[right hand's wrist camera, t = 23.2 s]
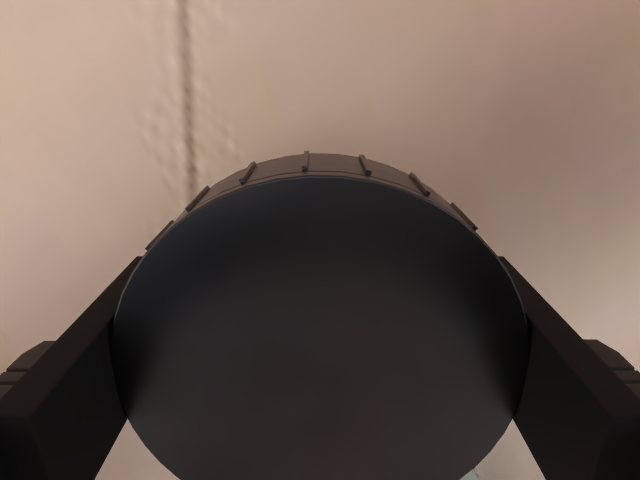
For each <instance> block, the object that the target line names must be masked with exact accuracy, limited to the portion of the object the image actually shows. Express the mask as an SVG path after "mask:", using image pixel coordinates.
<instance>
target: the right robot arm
mask: <svg viewBox="0 0 640 480" xmlns="http://www.w3.org/2000/svg"><path fill="white" fill-rule="evenodd" d="M142 257H143V256H137V257H136V258H135V259H134V260H133V261H132V262H131V263H130V264H129V265H128V266H127V267H126V269H125V270H124V271H123V272H122V273H121V274H120V275H119V276H118V277H117V278H116V279H115V280H114V281H113V282H112V283H111V284H110V285H109V286H108V287H107V288H106V289H105V290H104V291H103V292H102V294H101V295H100V296H99V297H98V298H97V299H96V300H95V301H94V302H93V303H92V304H91V305H90V306H89V307H88V308H87V309H86V310H85V311H84V312H83V313H82V314H81V315H80V316H79V318H78V319H77V320H76V321H75V322H74V323H73V324H72V325H71V326H70V327H69V328H68V329H67V330H66V331H65V332H64V333H63V334H62V335H61V336H60V337H59V338H58V339H57V340H56V341H44V342H42V343H40V344H38V345H37V346H35V347H33V348H32V349H30V350H28V351H27V352H25V353H23V354H22V355H21V356H20V357H19V358H18V359H17V360H16V361H15V362H14V363H12V364H11V365H10V366H9V367H8V368H7V371H6V372H3V373H2V374H1V375H0V480H94V479H95V477H96V475H97V474H98V472H99V470H100V468H101V466H102V464H103V463H104V461H105V459H106V457H107V455H108V453H109V452H110V450H111V448H112V446H113V444H114V442H115V441H116V439H117V437H118V435H119V433H120V431H121V430H122V428H123V426H124V424H125V422H126V420H127V419H128V417H127V415H126V413H125V411H124V409H123V407H122V404H121V401H120V399H119V396H118V392H117V388H116V383H115V378H114V373H113V367H112V362H111V337H112V330H113V323H114V316H115V313H116V310H117V307H118V304H119V300H120V297H121V294H122V292H123V290H124V288H125V286H126V284H127V282H128V280H129V278H130V276H131V274H132V272H133V270H134V269H135V267H136V266H137V264H138V263H139V262H140V260H141V259H142ZM498 258H499V259H500V261H501V262H502V263H503V265H504V266H505V267H506V268H507V269H508V271H509V275H510V276H511V278H512V280H513V283H514V285H515V287H516V289H517V292H518V294H519V296H520V299H521V301H522V305H523V309H524V313H525V317H526V320H527V325H528V336H529V347H530V350H529V363H528V369H527V374H526V379H525V384H524V389H523V394H522V397H521V400H520V402H519V405H518V407H517V410H516V412H515V415H514V416H513V420H514V422H515V424H516V425H517V427H518V429H519V431H520V433H521V435H522V436H523V438H524V440H525V442H526V444H527V446H528V447H529V449H530V451H531V453H532V455H533V457H534V458H535V460H536V462H537V464H538V466H539V468H540V469H541V471H542V473H543V475H544V477H545V479H546V480H640V373H639V372H638V371H635V370H634V367H633V366H632V365H631V364H630V363H629V362H628V361H627V360H626V359H625V358H624V357H623V356H622V355H621V354H620V353H618V352H617V351H615V350H613V349H612V348H610V347H608V346H606V345H605V344H603V343H601V342H600V341H598V340H583V339H582V338H581V337H580V336H579V335H578V334H577V333H576V332H575V331H574V330H573V329H572V328H571V327H570V326H569V324H568V323H567V322H566V321H565V320H564V319H563V318H562V317H561V316H560V315H559V314H558V313H557V312H556V311H555V310H554V309H553V308H552V307H551V306H550V305H549V304H548V303H547V302H546V301H545V299H544V298H543V297H542V296H541V295H540V294H539V293H538V292H537V291H536V290H535V289H534V288H533V287H532V286H531V285H530V284H529V283H528V282H527V281H526V280H525V279H524V278H523V277H522V275H521V274H520V273H519V272H518V271H517V270H516V269H515V268H514V267H513V266H512V265H511V264H510V263H509V262H508V261H507V260H506V259H505V258H504V257H503V256H498Z"/></svg>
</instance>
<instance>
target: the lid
mask: <svg viewBox="0 0 640 480" xmlns="http://www.w3.org/2000/svg"><path fill="white" fill-rule="evenodd" d="M477 229H478V228H477V227H476V226H475V225H474V224H473V223H472V222H471V220H470V219H469V218H468V217H467V216H466V215H465V214H464V213H463V212H462V211H461V210H460V209H459V208H458V207H457V206H456V205H455V204H454V203H451V204H449V203H448V202H447V201H446V200H444V199H443V198H442V197H441V196H440V195H438V194H437V193H436V192H435V191H434V190H433V189H431V188H430V187H428V186H427V185H425V184H423V183H422V182H421V181H420V180H419V179H418V178H417V176H416V175H415V174H413V173H410V175H408V174H406V173H404V172H402V171H399V170H397V169H395V168H393V167H391V166H388V165H385V164H382V163H378V162H375V161H372V160H368V159H366V158H365V156H364V155H360V156H359V157H353V156H347V155H340V154H312V153H311V154H309V151H304V154H302V155H293V156H285V157H281V158H277V159H273V160H269V161H265V162H261V163H258V164H256V163H255V162H252V163H250V165H249V166H248V167H247V168H245V169H243V170H240V171H238V172H236V173H234V174H232V175H230V176H229V177H227V178H225V179H223V180H222V181H220V182H218V183H216V184H215V185H213V186H212V187H211V188H209V187H208V186H206V187H205V188H204V189H203V190H202V191H201V192H200V193H199V194H198V195H197V196H196V197H195V198H194V199H193V201H192V202H191V203H190V204H189V205H188V206H187V207H186V208H185V211H184V212H183V213H182V214H181V215H180V216H179V217H178V218H177V219H176V220H175V221H171V222H170V223H169V224H168V225H167V226H166V227H165V228H164V229H163V230H162V231H161V232H160V233H159V234H158V235H157V236H156V237H155V238H154V239H153V240H152V241H151V242H150V243H149V245H148V246H147V247H146V248H145V249H146V250H147V252H146V253H145V255H144V256H143V257H142V259H141V260H140V262H139V263H138V264H137V266H136V267H135V269H134V270H133V272H132V274H131V276H130V278H129V280H128V282H127V284H126V286H125V288H124V290H123V292H122V294H121V297H120V300H119V304H118V307H117V310H116V313H115V316H114V323H113V330H112V337H111V362H112V367H113V373H114V378H115V383H116V388H117V392H118V396H119V399H120V401H121V404H122V407H123V409H124V411H125V413H126V415H127V417H128V419H129V421H130V423H131V425H132V427H133V429H134V430H135V432H136V433H137V434H138V436H139V437H140V439H141V440H142V442H143V443H144V445H145V446H146V447H147V448H148V449H149V450H150V452H151V453H152V454H153V455H154V456H155V457H156V458H157V459H158V460H159V462H160V463H161V464H163V465H164V466H165V467H166V468H167V469H168V470H169V471H171V472H172V473H173V474H174V475H175V476H176V477H178V478H179V479H180V480H460V479H461V478H462V477H464V476H465V475H466V474H467V473H468V472H470V471H471V470H472V469H473V468H475V467H476V466H477V465H478V464H479V463H480V462H481V460H482V459H483V458H484V457H485V456H486V455H487V454H488V453H489V452H490V451H491V450H492V449H493V447H494V446H495V445H496V443H497V442H498V441H499V439H500V438H501V437H502V435H503V434H504V432H505V431H506V429H507V427H508V425H509V424H510V422H511V420H512V418H513V416H514V415H515V412H516V410H517V407H518V405H519V402H520V400H521V397H522V394H523V389H524V384H525V379H526V374H527V369H528V363H529V350H530V347H529V336H528V325H527V320H526V317H525V313H524V309H523V305H522V301H521V299H520V296H519V294H518V292H517V289H516V287H515V285H514V283H513V280H512V278H511V276H510V275H509V271H508V269H507V268H506V267H505V266H504V265H503V263H502V262H501V261H500V259H499V258H498V256H497V255H496V254H495V253H494V252H493V250H492V249H491V248H490V247H489V246H488V245H487V244H486V243H485V241H484V240H483V239H482V238H481V237H480V236H479V235H478V234H477V233H476V230H477Z"/></svg>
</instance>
